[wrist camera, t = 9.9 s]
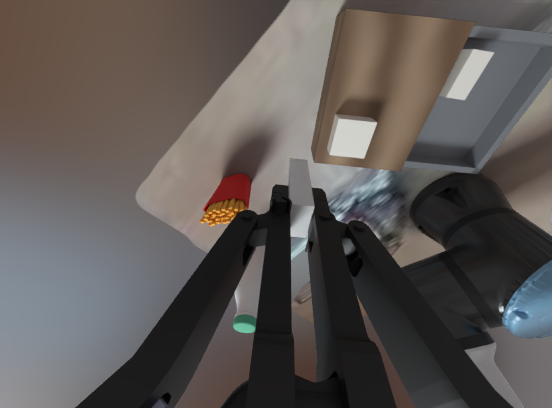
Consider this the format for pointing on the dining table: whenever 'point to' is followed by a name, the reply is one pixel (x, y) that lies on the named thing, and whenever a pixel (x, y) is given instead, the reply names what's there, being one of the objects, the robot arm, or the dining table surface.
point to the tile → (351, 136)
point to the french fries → (228, 200)
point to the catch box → (485, 102)
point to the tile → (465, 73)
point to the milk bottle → (249, 293)
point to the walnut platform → (385, 80)
